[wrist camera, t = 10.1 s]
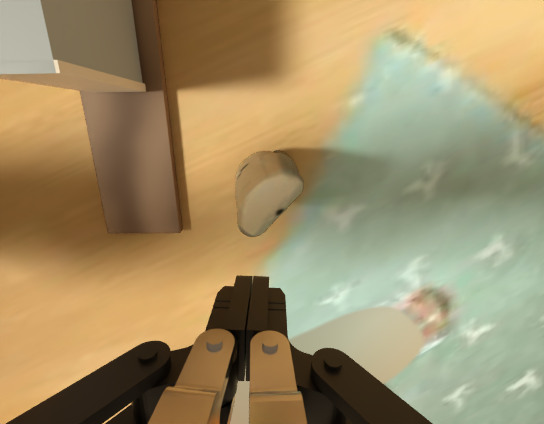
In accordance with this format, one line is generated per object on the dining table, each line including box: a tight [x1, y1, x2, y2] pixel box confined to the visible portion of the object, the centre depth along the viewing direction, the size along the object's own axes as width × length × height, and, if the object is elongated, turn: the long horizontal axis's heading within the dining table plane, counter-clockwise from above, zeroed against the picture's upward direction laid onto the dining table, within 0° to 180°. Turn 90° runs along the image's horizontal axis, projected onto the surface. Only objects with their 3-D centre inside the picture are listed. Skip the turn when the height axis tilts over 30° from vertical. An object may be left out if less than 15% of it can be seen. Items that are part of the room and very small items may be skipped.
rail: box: [80, 0, 182, 233], centre depth 24 cm, size 7×26×3 cm, turn 1°
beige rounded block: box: [235, 150, 304, 237], centre depth 23 cm, size 6×5×8 cm
